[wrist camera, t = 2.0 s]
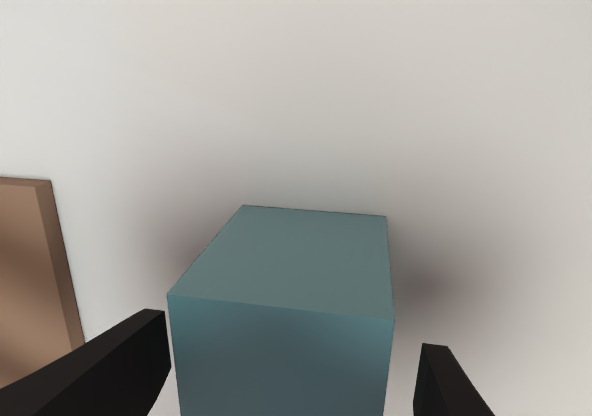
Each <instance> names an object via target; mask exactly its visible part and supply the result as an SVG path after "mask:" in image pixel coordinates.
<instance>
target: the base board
mask: <svg viewBox="0 0 592 416" xmlns="http://www.w3.org/2000/svg"><path fill="white" fill-rule="evenodd" d="M84 344H85V343H84V338H83V334H82V329H81V324H80V320H79V315H78V310H77V305H76V301H75V296H74V291H73V287H72V282H71V277H70V272H69V268H68V263H67V258H66V254H65V249H64V244H63V240H62V235H61V230H60V225H59V221H58V216H57V211H56V207H55V202H54V197H53V192H52V188H51V183H50V181H44V180H31V179H17V178H4V177H0V388H3V387H5V386H7V385H9V384H11V383H13V382H15V381H17V380H19V379H21V378H23V377H25V376H27V375H29V374H31V373H33V372H35V371H37V370H39V369H41V368H42V367H44V366H46V365H48V364H50V363H52V362H53V361H55V360H57V359H59V358H61V357H62V356H64V355H66V354H68V353H70V352H72V351H73V350H75V349H77V348H79V347H80V346H82V345H84Z"/></svg>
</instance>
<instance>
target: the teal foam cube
mask: <svg viewBox="0 0 592 416" xmlns="http://www.w3.org/2000/svg"><path fill="white" fill-rule="evenodd" d="M167 302H168V310H169V319H170V327H171V336H172V345H173V353H174V362H175V370H176V379H177V387H178V396H179V405H180V413H181V416H383V411H384V403H385V395H386V387H387V379H388V371H389V363H390V355H391V347H392V339H393V331H394V323H395V318H394V306H393V295H392V283H391V272H390V260H389V248H388V237H387V225H386V216H374V215H361V214H348V213H335V212H322V211H309V210H297V209H284V208H271V207H258V206H245V205H242V206H241V208H240V209H239V210H238V211H237V212H236V213H235V215H234V216H233V217H232V218H231V219H230V220H229V222H228V223H227V224H226V225H225V226H224V227H223V229H222V230H221V231H220V232H219V233H218V235H217V236H216V237H215V238H214V239H213V240H212V242H211V243H210V244H209V245H208V246H207V247H206V249H205V250H204V251H203V252H202V253H201V254H200V256H199V257H198V258H197V259H196V260H195V261H194V263H193V264H192V265H191V266H190V267H189V268H188V270H187V271H186V272H185V273H184V274H183V276H182V277H181V278H180V279H179V280H178V281H177V283H176V284H175V285H174V286H173V287H172V288H171V290H170V291H169V292H168V293H167Z"/></svg>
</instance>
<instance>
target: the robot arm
mask: <svg viewBox="0 0 592 416" xmlns="http://www.w3.org/2000/svg"><path fill="white" fill-rule="evenodd" d="M170 369H171V359H170V351H169V343H168V335H167V327H166V319H165V311H161V310H153V309H143V310H141V311H139V312H138V313H136V314H134V315H132V316H131V317H129V318H127V319H125V320H124V321H122V322H120V323H119V324H117V325H115V326H114V327H112V328H110V329H109V330H107V331H105V332H104V333H102V334H100V335H99V336H97V337H95V338H94V339H92V340H90V341H89V342H87V343H85V344H84V345H82V346H80V347H79V348H77V349H75V350H73V351H72V352H70V353H68V354H66V355H64V356H62V357H61V358H59V359H57V360H55V361H53V362H52V363H50V364H48V365H46V366H44V367H42V368H41V369H39V370H37V371H35V372H33V373H31V374H29V375H27V376H25V377H23V378H21V379H19V380H17V381H15V382H13V383H11V384H9V385H7V386H5V387H3V388H0V416H147V415H148V413H149V411H150V410H151V408H152V407H153V405H154V403H155V401H156V400H157V398H158V395H159V393H160V391H161V389H162V387H163V385H164V383H165V381H166V378H167V376H168V374H169V372H170ZM413 413H414V416H495V415H494V413H493V412H492V411H491V409H490V408H489V407H488V405H487V404H486V403H485V401H484V400H483V399H482V397H481V396H480V394H479V393H478V391H477V390H476V389H475V387H474V386H473V384H472V383H471V381H470V380H469V378H468V377H467V375H466V374H465V372H464V371H463V369H462V368H461V366H460V365H459V363H458V361H457V360H456V358H455V357H454V355H453V354H452V352H451V350H450V349H449V348H448V347H447V346H442V345H434V344H426V343H422V349H421V355H420V361H419V368H418V374H417V380H416V387H415V393H414V399H413Z"/></svg>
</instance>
